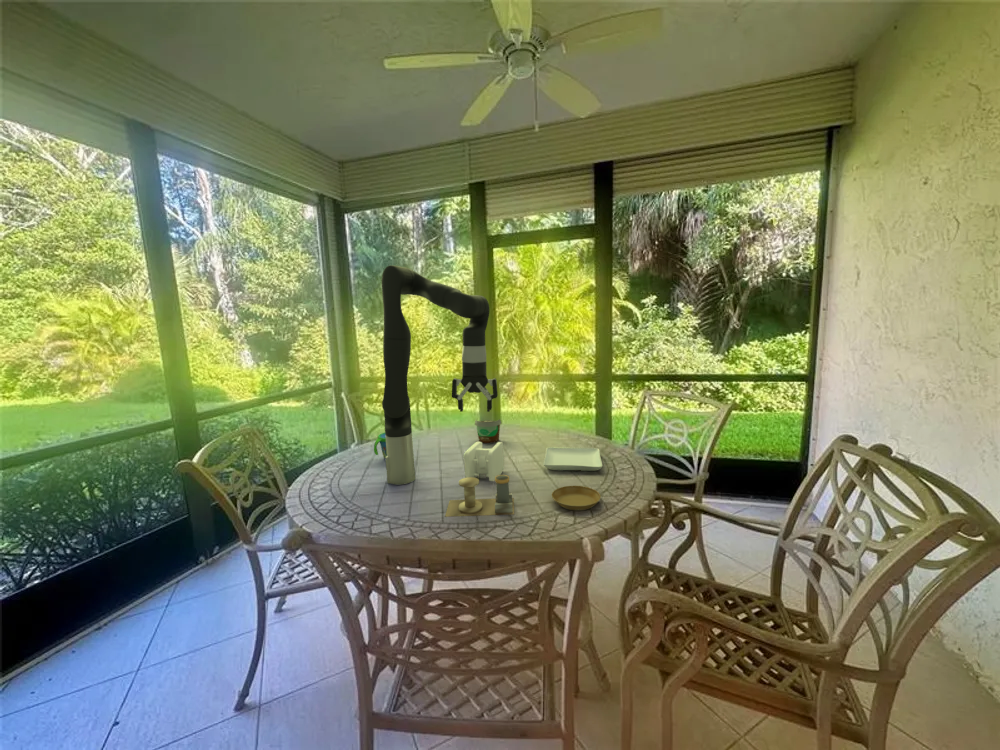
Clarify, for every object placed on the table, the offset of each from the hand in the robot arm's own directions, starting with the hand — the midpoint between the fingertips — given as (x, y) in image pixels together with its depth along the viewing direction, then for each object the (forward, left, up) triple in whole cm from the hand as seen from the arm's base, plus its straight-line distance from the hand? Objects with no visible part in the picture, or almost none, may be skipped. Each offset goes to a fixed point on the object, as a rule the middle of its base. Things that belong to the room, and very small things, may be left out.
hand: (475, 411), depth 137 cm
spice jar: (+8, -12, -27) cm, 30 cm away
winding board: (+1, -11, -28) cm, 30 cm away
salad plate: (+34, +26, -29) cm, 52 cm away
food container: (0, +57, -28) cm, 64 cm away
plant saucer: (+30, -8, -28) cm, 42 cm away
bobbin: (-2, -12, -27) cm, 29 cm away
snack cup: (-39, +40, -28) cm, 63 cm away
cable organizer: (+1, +15, -28) cm, 32 cm away
